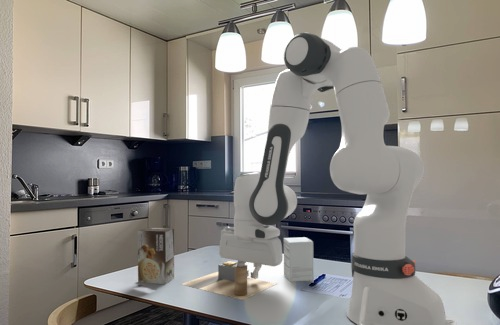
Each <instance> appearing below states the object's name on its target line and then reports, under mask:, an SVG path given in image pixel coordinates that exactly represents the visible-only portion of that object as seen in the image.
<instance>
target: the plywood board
mask: <svg viewBox="0 0 500 325" xmlns="http://www.w3.org/2000/svg"><path fill="white" fill-rule="evenodd" d="M180 285H182V286H185V287H190V288H195V289H198V290H203V291H206V292H210V293H213V294H214V293H215V294H217V295H221V296H226V297H230V298H233V299H237V300H241V301H244V300H246V299H247V300H248V298H251V297H253V296H255V295H257V294H258V293H259V294H260V293H261V292H263V291H265V290H267V289H270V288H272V287H273V286H276V285H277V283H276V282H270V281H265V280H261V279H253V278H251V277H247V295H246V296H236V295H235V282H233V281H229V280H224V279H220V278H218V271H215V272H212V273H209V274H206V275H203V276H201V277H198V278H194V279H191V280H190V281H186V282H183V283H181V284H180Z"/></svg>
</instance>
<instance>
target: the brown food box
mask: <svg viewBox="0 0 500 325" xmlns="http://www.w3.org/2000/svg"><path fill="white" fill-rule="evenodd" d="M173 279H175V228H173V227H145V228H142V229H138V230H137V281H138V283H148V284H149V283H150V284H160V285H161V284H163V285H167V284H168V283H170V282H171V281H173ZM137 286H138V287H143V285H142V284H138V285H137Z"/></svg>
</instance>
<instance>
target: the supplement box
mask: <svg viewBox="0 0 500 325" xmlns="http://www.w3.org/2000/svg"><path fill="white" fill-rule="evenodd" d="M314 273H315V272H314V241H313V240H312V239H310V238H308V237H305V236H303V237H283V276H284V277H285V278H286V279H287V280H288V281H289V282H291V283H292V282H308V283H314V279H315V276H314V275H315V274H314Z"/></svg>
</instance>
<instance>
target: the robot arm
mask: <svg viewBox="0 0 500 325" xmlns="http://www.w3.org/2000/svg"><path fill="white" fill-rule="evenodd" d="M283 52H284V53H283V61H284V64H285V66H286V68H287V69H285V70H283V71H281V72H280V73H279V74H278V76H277V78H276V81H275V83H274V88H273V92H272V95H271V100H270V101H271V102H270V109H269V117H268V118H269V119H268V129H267V135H266V136H267V137H266V142H265V147H264V152H263V157H262V162H261V169H260V172H250V173H244V174H241V175H238V177H236V179H235V182H234V189H233V206H234V215H233V227H231V226H224V227H223V228H222V229H221V231H220V240H219V248H218V254H219V257H220V258H221V259H225V260H226V259H227V260H232V261H237V262H245V264H247V263H251V264H253V268H254V269H253V271H251V272H250V270H249V269H247V278H249V274H250V278H252V279H256V280H258V278H259V273H260V270H261V268H262V265H263V266H269V267H277V266H279V265H281V263H282V261H283V246H282V242H281V239H280V238H279V237H280V235H281V230H280V228H278V227H276V226H275V225H277V224H279V223H280V222H281V221H282V220H284V219H286V218H287V217H288V216H290V215H292V213H294V212H295V211H296V208H297V206H298V196H297V194H296V192H295V190H294V189H292V187H290V186H288V185H286V184H285V178H286V172H287V166H288V162H289V161H288V159H289V156H290V153H291V150H292V149H293V148H294V146H295V144H296V143H297V142H298V141H300V140H301V139H302V138H303V137H304V135H305V134H306V131H307V128H308V124H309V119H310V113H311V102H312V97H313V95H314V93H315V92H316V91H319V92H320V93H324V92H327V91H330V90H333V91H334V95H335V96H334V97H335V100H336V104H337V109H338V113H339V118H340V123H341V124H340V125H341V139H340V143H339V146H338V149H337V150H336V152H335V153H334V154H333V156H332V157H331V160H330V164H329V174H330V178H331V181H332V182H333V184H334V186H335V187H337V188H338V189H339V190H341V191H343V192H347V193H350V194H356V195H366V198H365V201H364V204H363V206H362V209H361V210H360V211H359V212H358V213H357V214H356V216H355V217H354V219H353V252H352V254H351V261H350V262H351V263H350V264H351V265H350V267H351V268H350V269H351V276H352V285H351V286H352V287H351V293H350V294H351V295H350V299H349V304H348V308H347V311H346V316H347V318H348V319H349V320H350V321H352V322H353V323H355V325H458V323H457V322H456V321H455V320H454V319H453V318H452V317H450V316H448V315H446V311H445V306H444V303H443V299H442V297H441V296H440V295H439V293H437V292H436V291H435V290H434V289H432V288H431V287H430V286H428V284H426V283H425V282H424V281H423V280H421V279H420V278H419V277H418V276H417V275H416V265H417V264H416V259H413V260H412V259H410V258H409V257H408V256H407V255H406V226H407V225H406V224H407V218H408V217H407V216H408V212H409V208H410V205H411V202H412V197H413V194H414V191H415V190H416V188H417V186H418V185H419V184H420V183H421V181H422V180H423V178H424V175H425V164H424V162H423V159H422V158H421V156H420V155H419V154H418V153H416V152H414V151H412V150H411V149H408V148H405V147H403V146H396V145H386V143H385V139H384V131H385V130H384V129H385V125H386V124H387V123H388V121H389V120H390V118H391V117H390V116H391V112H390V107H389V105H388V101H387V97H386V94H385V90H384V86H383V83H382V82H383V81H382V78H381V76H380V73H379V71H378V68H377V66H376V63H375V61H374V59H373V58H372V56H371V53H370V52H369V51H368V50H367V49H365V48H363V47H360V46H352V47H347V48H345V49H344V50H343V49H342V48H340V47H338V46H337V45H336V44H334V43H333V42H331V41H329V40H328V39H325V38H323V37H320V36H318V35H316V34H314V33H311V32H299V33H297V34H295V35H294V36H293V37H291V38H290V39H289V40H288V42H287V44H286V46H285V48H284V51H283ZM249 272H250V273H249Z"/></svg>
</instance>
